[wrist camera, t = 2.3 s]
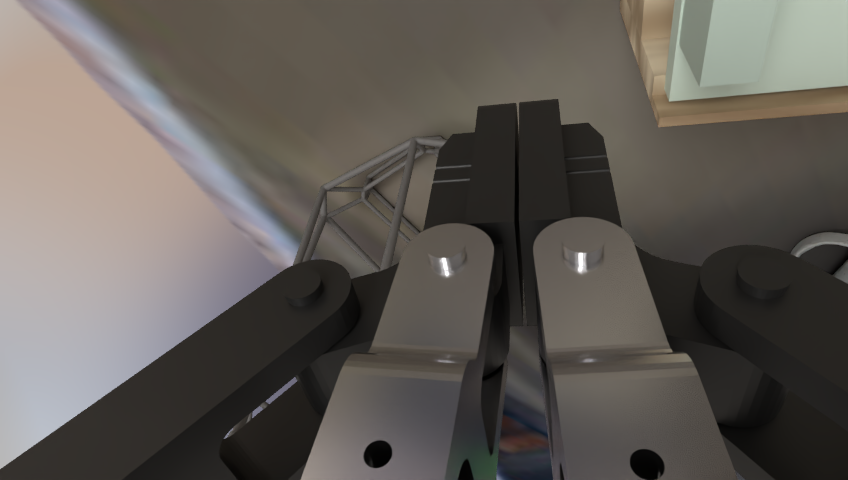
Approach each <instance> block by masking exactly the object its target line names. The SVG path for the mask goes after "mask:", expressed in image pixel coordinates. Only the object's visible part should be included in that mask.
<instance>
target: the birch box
mask: <svg viewBox="0 0 848 480" xmlns="http://www.w3.org/2000/svg"><path fill="white" fill-rule="evenodd" d="M674 2H675V0H620V12H621V15H622V18H623V21H624V24H625V27H626V30H627V33H628V36H629V39H630V42H631V45H632V48H633V51H634V54H635V57H636V60H637V63H638V66H639V69H640V72H641V75H642V78H643V81H644V84H645V87H646V90H647V94H648V97H649V100H650V103H651V106H652V109H653V112H654V115H655V118H656V121H657V124H658V127H667V126H679V125H692V124H704V123H717V122H729V121H741V120H754V119H766V118H779V117H791V116H804V115H816V114H828V113H841V112H848V86H838V87H827V88H816V89H804V90H793V91H782V92H771V93H760V94H748V95H737V96H726V97H715V98H704V99H692V100H681V101H670V102H669V100H668V98H667V95H666V92H665V90H664V86H665V78H666V69H667V61H668V52H669V44H670V36H671V27H672V19H673V10H674Z"/></svg>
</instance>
